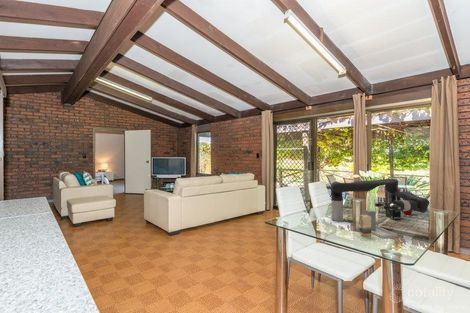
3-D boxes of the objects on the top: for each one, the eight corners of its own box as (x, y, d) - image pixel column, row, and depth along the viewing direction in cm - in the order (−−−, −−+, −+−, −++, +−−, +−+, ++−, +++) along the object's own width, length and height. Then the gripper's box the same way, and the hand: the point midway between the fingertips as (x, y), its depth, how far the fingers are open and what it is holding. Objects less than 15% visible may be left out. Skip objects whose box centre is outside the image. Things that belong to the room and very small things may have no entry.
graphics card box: (401, 220, 212) (401, 188, 212) (392, 220, 213) (391, 188, 213) (392, 215, 229) (392, 185, 228) (384, 215, 230) (384, 185, 230)
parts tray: (397, 238, 168) (397, 234, 168) (381, 240, 167) (381, 235, 167) (372, 227, 194) (372, 223, 194) (358, 228, 192) (358, 224, 192)
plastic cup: (410, 216, 224) (410, 203, 224) (398, 214, 234) (398, 201, 234) (417, 214, 230) (417, 201, 230) (404, 212, 239) (404, 200, 239)
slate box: (375, 230, 185) (375, 211, 184) (369, 230, 184) (369, 211, 184) (371, 228, 190) (371, 209, 189) (365, 228, 189) (364, 210, 189)
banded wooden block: (371, 237, 170) (371, 216, 170) (364, 237, 169) (364, 216, 169) (366, 234, 175) (366, 214, 175) (359, 235, 174) (359, 215, 174)
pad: (381, 241, 165) (381, 239, 165) (365, 242, 164) (365, 240, 164) (365, 233, 181) (365, 232, 181) (351, 234, 179) (351, 232, 179)
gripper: (393, 198, 182) (372, 199, 180) (409, 202, 168) (387, 203, 166) (393, 208, 182) (372, 209, 180) (409, 213, 168) (386, 214, 166)
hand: (379, 206), depth 173 cm, fingers open, 8 cm apart
